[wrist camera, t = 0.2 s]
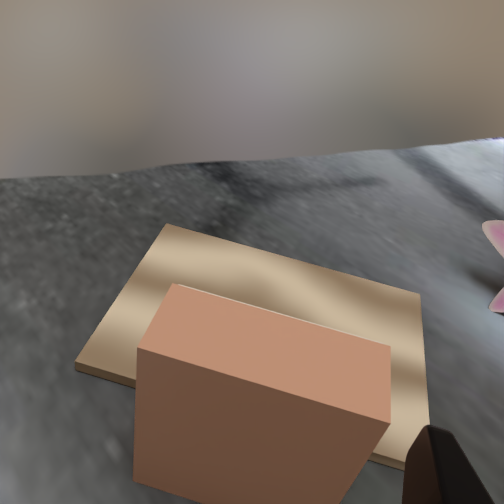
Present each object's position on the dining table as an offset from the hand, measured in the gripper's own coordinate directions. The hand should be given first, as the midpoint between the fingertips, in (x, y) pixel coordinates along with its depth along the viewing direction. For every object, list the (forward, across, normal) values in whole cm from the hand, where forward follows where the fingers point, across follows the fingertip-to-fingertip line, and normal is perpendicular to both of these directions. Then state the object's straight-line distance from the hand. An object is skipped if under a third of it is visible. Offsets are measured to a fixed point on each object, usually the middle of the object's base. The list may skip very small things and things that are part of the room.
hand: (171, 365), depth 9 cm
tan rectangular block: (+8, -2, +16) cm, 18 cm away
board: (+18, -2, +15) cm, 24 cm away
